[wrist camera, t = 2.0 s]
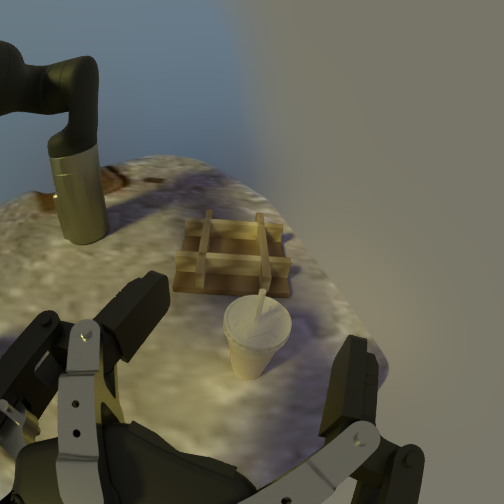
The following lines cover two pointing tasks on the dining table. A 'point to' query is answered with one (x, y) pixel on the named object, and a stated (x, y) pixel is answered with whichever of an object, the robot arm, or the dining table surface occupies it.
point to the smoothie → (255, 332)
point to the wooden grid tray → (232, 258)
